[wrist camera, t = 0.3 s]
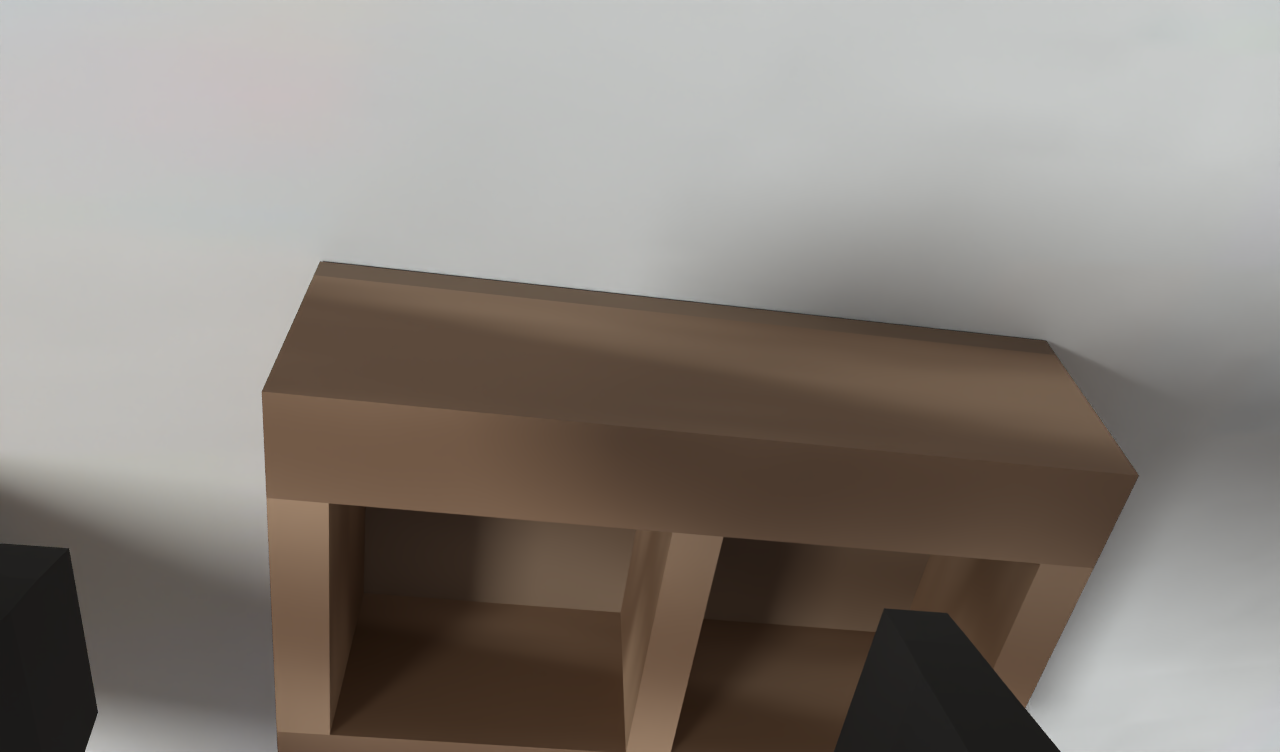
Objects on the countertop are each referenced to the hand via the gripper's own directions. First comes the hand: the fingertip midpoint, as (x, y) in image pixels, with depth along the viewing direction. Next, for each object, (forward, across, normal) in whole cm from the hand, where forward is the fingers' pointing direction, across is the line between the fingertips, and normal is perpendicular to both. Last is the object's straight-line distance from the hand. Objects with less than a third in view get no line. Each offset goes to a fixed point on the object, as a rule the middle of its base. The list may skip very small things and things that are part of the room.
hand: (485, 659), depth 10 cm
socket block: (+10, -3, +6) cm, 12 cm away
